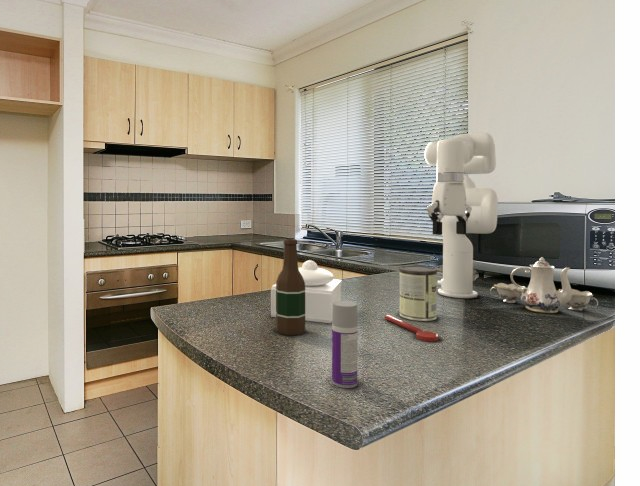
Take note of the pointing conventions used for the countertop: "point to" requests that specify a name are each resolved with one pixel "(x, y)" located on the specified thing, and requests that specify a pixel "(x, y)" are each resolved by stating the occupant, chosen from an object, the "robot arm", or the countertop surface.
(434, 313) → the coffee can
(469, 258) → the robot arm
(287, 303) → the beer bottle
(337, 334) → the container
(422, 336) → the red spoon
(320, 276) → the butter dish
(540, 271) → the chinaware
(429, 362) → the countertop surface
